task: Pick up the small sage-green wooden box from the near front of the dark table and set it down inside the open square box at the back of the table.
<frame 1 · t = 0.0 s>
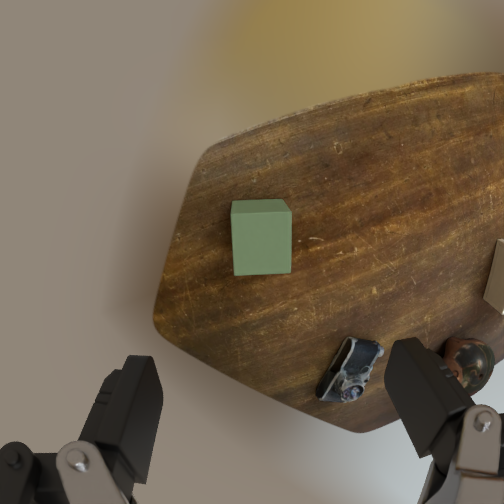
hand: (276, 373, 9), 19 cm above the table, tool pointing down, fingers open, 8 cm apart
camera: (345, 364, 35), on the table
green box: (258, 226, 28), on the table
decorative turtle: (451, 353, 36), on the table
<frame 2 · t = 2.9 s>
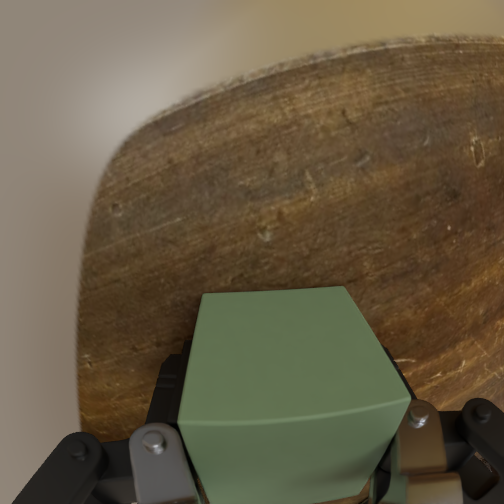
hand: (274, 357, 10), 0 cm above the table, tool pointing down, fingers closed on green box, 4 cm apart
green box: (274, 351, 10), on the table, touching gripper
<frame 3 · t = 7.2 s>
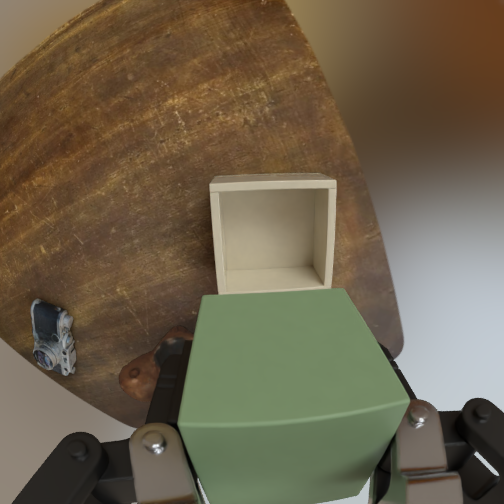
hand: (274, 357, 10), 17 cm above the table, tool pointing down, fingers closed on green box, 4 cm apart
camera: (57, 332, 29), on the table
green box: (274, 352, 10), point 17 cm above the table, touching gripper
open square box: (269, 224, 26), on the table
decorative turtle: (205, 352, 31), on the table
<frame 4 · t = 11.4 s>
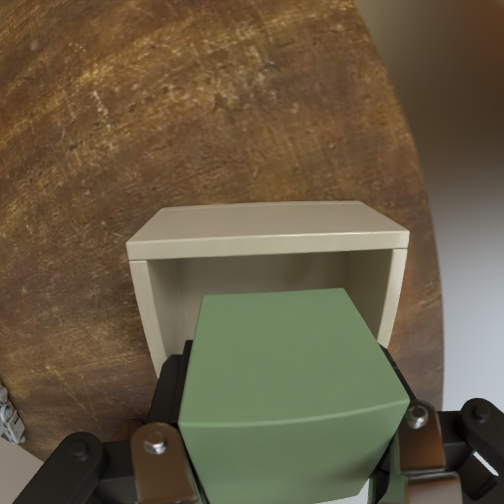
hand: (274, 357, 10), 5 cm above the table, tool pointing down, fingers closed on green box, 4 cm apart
green box: (274, 352, 10), point 4 cm above the table, touching gripper
open square box: (264, 293, 14), on the table
decorative turtle: (175, 445, 19), on the table
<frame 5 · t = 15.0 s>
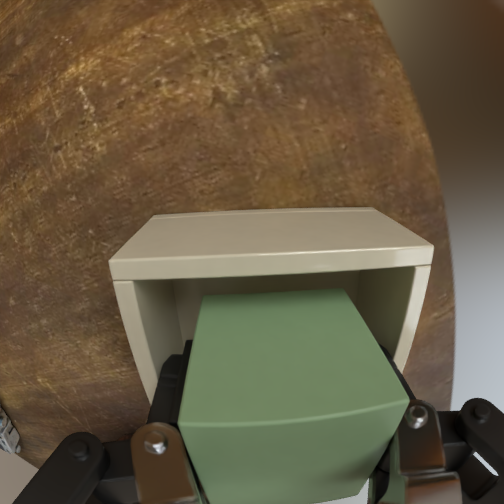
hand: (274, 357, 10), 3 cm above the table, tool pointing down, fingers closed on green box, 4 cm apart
green box: (274, 352, 10), point 3 cm above the table, touching gripper
open square box: (267, 308, 13), on the table
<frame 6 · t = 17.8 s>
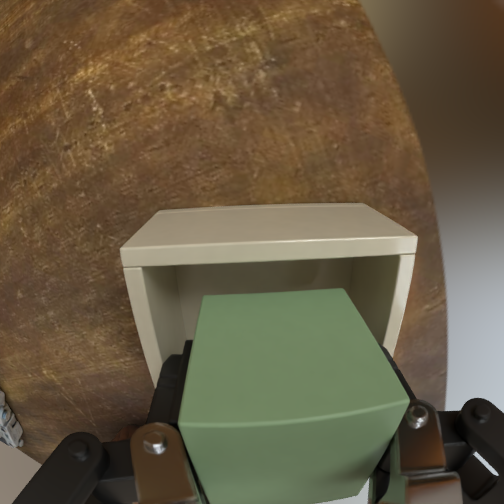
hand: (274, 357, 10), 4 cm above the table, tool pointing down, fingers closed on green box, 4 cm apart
green box: (274, 352, 10), point 4 cm above the table, touching gripper
open square box: (265, 298, 14), on the table
when the fingers open (5 cm above the table, at t = 20.3 s): green box drops 4 cm, resting on open square box.
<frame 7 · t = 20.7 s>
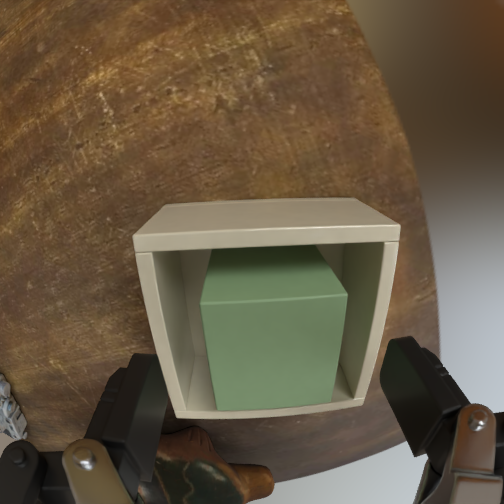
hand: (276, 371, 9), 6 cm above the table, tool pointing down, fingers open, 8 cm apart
camera: (1, 392, 19), on the table
green box: (264, 292, 14), point 1 cm above the table, touching open square box
open square box: (263, 287, 15), on the table
decorative turtle: (176, 439, 20), on the table
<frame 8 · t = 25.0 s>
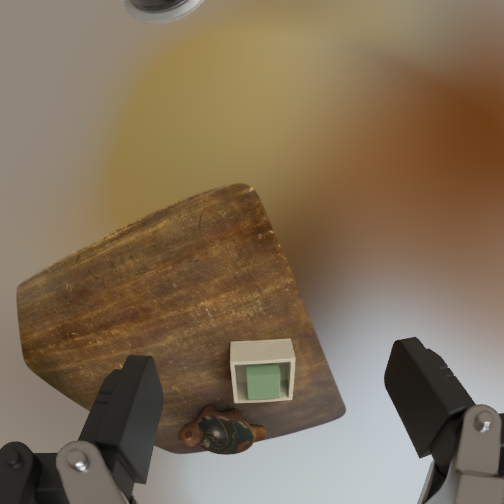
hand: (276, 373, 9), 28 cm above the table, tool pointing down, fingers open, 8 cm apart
green box: (261, 364, 44), point 1 cm above the table, touching open square box
open square box: (261, 362, 44), on the table
decorative turtle: (223, 415, 49), on the table
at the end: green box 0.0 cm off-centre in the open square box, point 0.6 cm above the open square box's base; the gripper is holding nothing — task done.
